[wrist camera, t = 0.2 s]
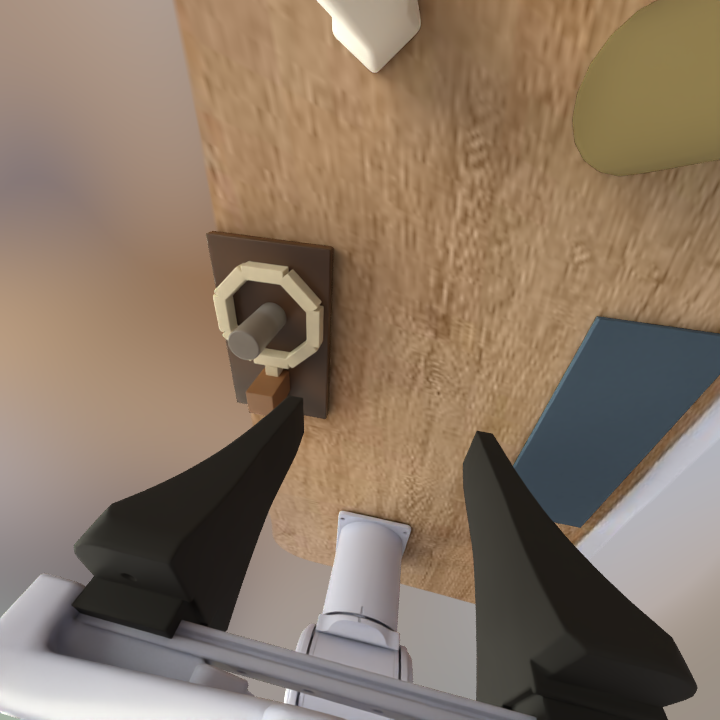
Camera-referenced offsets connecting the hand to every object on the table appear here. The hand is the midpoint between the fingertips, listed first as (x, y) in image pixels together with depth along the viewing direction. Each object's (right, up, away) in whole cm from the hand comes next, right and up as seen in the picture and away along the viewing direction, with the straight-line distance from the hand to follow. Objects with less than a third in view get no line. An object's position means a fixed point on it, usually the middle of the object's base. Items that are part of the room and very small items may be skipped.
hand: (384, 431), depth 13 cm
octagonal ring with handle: (-7, +4, +10) cm, 13 cm away
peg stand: (-7, +5, +10) cm, 13 cm away
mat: (+16, -3, +11) cm, 20 cm away
